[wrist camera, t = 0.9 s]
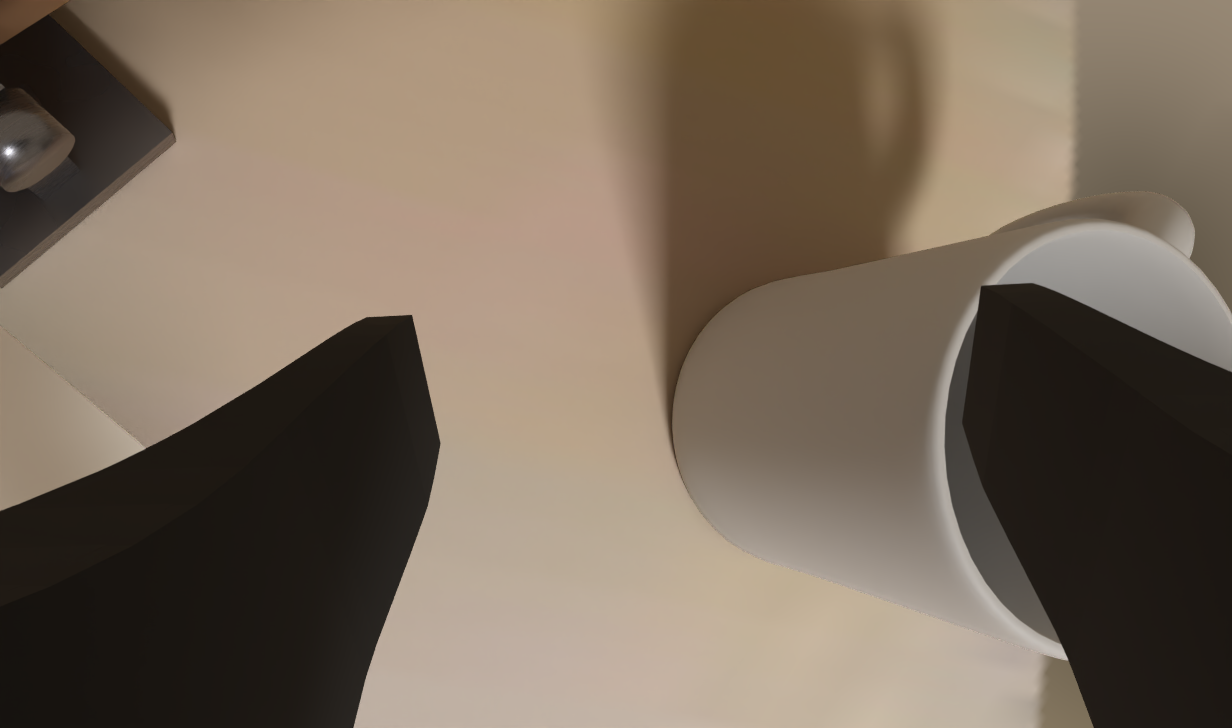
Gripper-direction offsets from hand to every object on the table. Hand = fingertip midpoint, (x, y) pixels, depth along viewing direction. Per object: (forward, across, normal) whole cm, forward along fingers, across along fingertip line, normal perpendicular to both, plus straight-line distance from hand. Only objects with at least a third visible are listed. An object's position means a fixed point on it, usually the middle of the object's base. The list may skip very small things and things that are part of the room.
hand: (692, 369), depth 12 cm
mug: (+14, -4, +9) cm, 17 cm away
